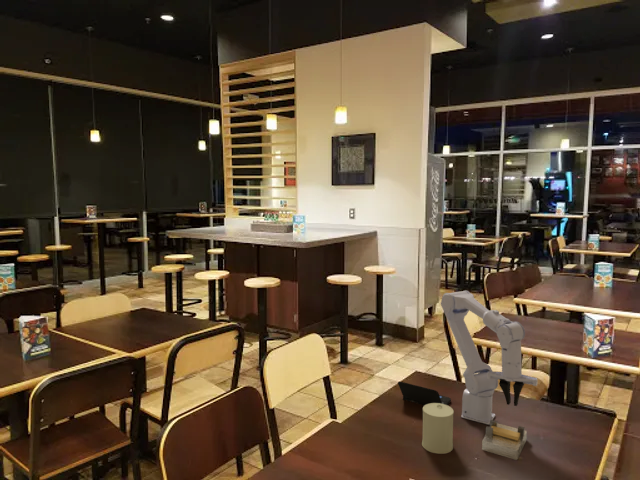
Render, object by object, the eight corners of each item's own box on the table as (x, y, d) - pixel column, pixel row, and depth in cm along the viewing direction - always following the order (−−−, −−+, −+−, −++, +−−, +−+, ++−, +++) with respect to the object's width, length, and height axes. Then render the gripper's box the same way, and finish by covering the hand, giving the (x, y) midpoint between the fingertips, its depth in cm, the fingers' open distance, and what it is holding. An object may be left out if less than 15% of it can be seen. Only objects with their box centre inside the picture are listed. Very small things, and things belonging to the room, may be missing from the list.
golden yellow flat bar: (488, 432, 147) (488, 429, 147) (491, 428, 150) (491, 425, 149) (517, 440, 142) (517, 437, 142) (519, 436, 145) (520, 433, 145)
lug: (517, 435, 146) (517, 428, 145) (518, 433, 147) (518, 425, 147) (523, 437, 145) (523, 429, 145) (524, 434, 146) (524, 427, 146)
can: (453, 440, 149) (454, 403, 148) (451, 456, 140) (452, 417, 139) (423, 435, 152) (424, 399, 151) (420, 450, 143) (420, 412, 142)
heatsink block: (481, 449, 144) (482, 432, 143) (493, 431, 154) (493, 415, 154) (517, 460, 138) (517, 442, 137) (526, 440, 149) (527, 423, 148)
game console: (452, 401, 176) (452, 378, 175) (437, 416, 165) (437, 391, 164) (413, 391, 185) (413, 368, 184) (396, 404, 174) (396, 380, 173)
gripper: (484, 361, 150) (485, 404, 151) (534, 368, 142) (534, 413, 143) (490, 355, 156) (491, 396, 157) (538, 361, 148) (539, 405, 149)
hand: (512, 404), depth 150 cm, fingers closed
